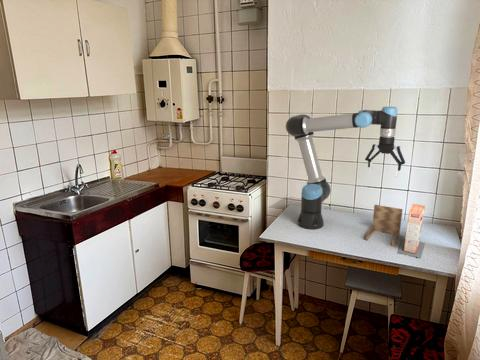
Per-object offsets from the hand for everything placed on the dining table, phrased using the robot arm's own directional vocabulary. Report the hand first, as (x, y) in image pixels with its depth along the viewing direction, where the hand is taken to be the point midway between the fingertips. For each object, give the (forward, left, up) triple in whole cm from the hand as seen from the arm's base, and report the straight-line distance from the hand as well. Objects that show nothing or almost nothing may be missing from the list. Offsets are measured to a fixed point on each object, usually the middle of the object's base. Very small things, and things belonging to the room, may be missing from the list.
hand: (383, 174), depth 190 cm
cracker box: (+20, -18, -31) cm, 41 cm away
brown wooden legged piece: (+5, -12, -32) cm, 34 cm away
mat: (+20, -18, -32) cm, 42 cm away
